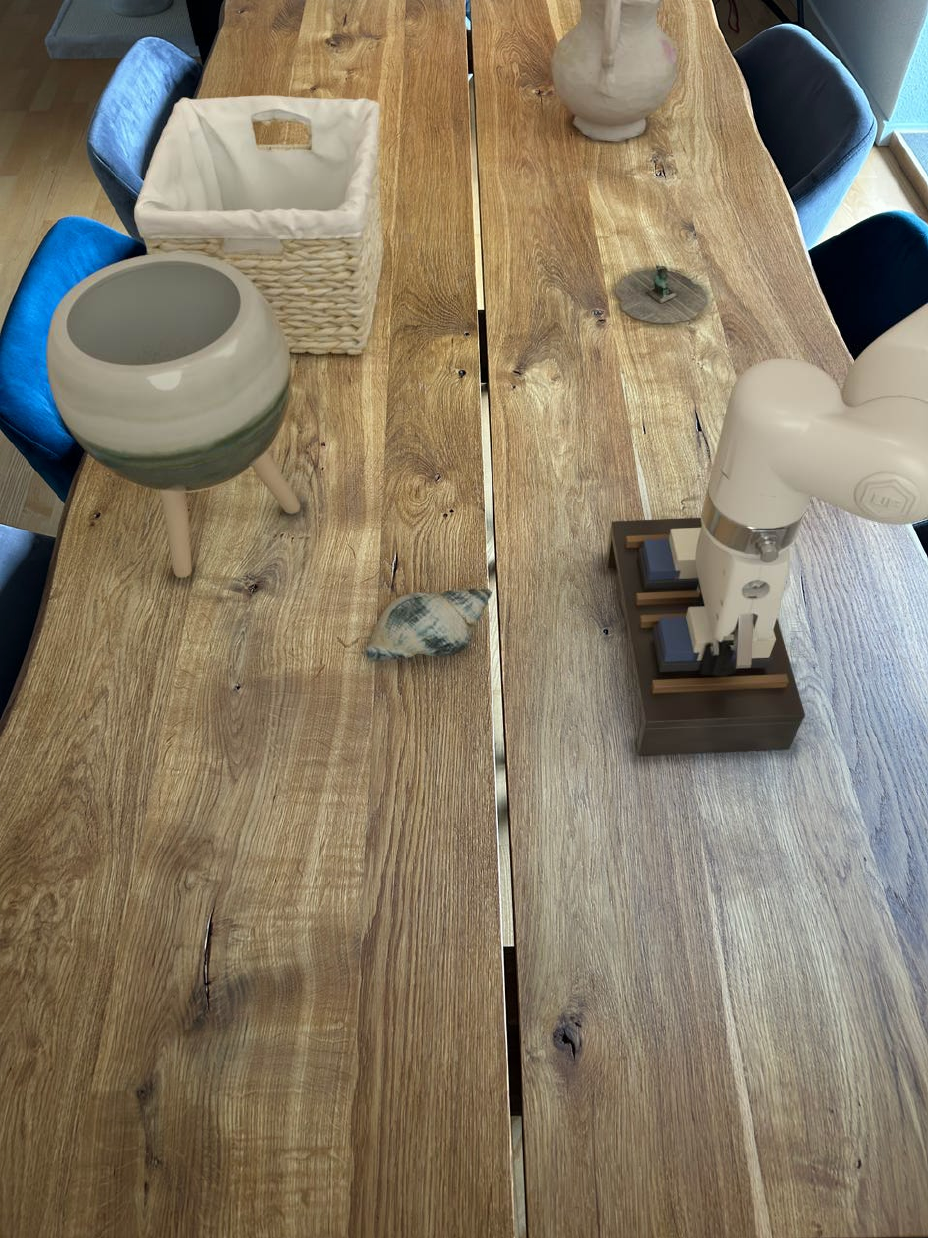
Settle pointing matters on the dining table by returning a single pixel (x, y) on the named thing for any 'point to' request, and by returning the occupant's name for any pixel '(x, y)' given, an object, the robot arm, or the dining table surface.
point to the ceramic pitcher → (614, 68)
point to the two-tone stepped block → (670, 561)
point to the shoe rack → (686, 700)
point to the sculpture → (660, 296)
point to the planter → (173, 379)
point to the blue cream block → (697, 642)
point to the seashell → (427, 624)
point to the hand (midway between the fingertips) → (711, 647)
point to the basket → (277, 208)
